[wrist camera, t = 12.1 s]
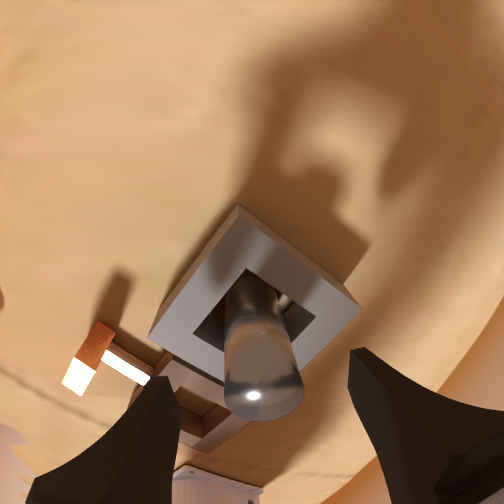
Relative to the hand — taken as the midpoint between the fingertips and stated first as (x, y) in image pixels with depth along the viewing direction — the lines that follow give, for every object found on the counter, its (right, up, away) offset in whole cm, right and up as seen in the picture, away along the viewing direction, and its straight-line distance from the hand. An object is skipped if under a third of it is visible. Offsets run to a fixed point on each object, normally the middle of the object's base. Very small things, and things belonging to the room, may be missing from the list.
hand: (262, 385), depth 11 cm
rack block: (0, +2, +7) cm, 7 cm away
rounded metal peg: (0, +2, +7) cm, 7 cm away
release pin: (-9, -2, +8) cm, 12 cm away
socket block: (-4, -5, +9) cm, 11 cm away
